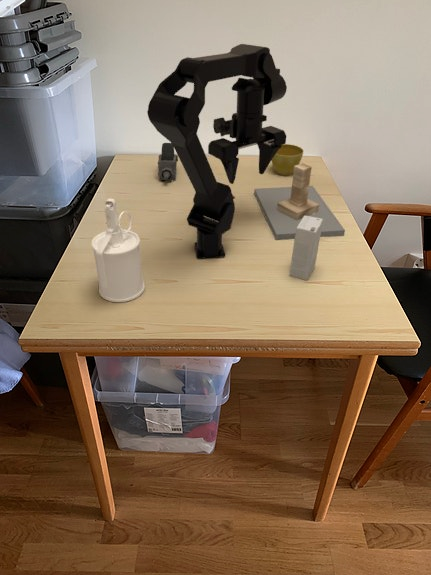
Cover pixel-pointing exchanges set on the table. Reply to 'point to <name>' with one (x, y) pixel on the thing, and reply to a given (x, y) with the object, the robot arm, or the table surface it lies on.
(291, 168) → the flower pot
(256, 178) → the table surface
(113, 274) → the smoke grenade
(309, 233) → the skincare box
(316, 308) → the table surface
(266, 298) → the table surface
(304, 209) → the wooden block tower
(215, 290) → the table surface
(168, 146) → the caster wheel
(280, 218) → the board
